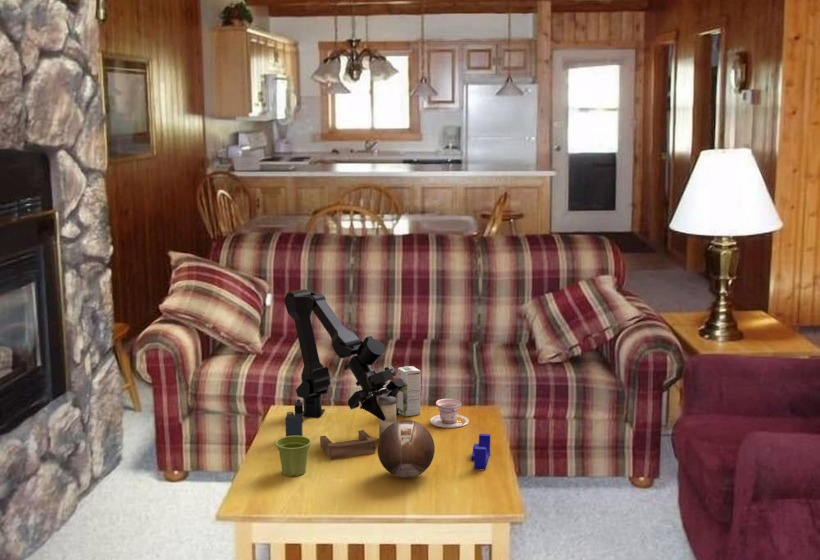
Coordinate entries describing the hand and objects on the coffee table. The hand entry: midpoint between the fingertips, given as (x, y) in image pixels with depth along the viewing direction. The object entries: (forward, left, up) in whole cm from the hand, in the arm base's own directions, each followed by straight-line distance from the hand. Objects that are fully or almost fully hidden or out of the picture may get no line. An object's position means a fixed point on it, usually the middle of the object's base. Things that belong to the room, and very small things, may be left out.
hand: (391, 417), depth 291 cm
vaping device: (+2, -28, -7) cm, 29 cm away
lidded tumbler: (-1, -1, -7) cm, 7 cm away
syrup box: (-25, +2, -7) cm, 26 cm away
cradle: (+9, -11, -7) cm, 16 cm away
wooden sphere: (+26, +8, -7) cm, 28 cm away
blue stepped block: (+14, +26, -7) cm, 31 cm away
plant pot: (+27, -22, -7) cm, 36 cm away
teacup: (-18, +15, -7) cm, 25 cm away
